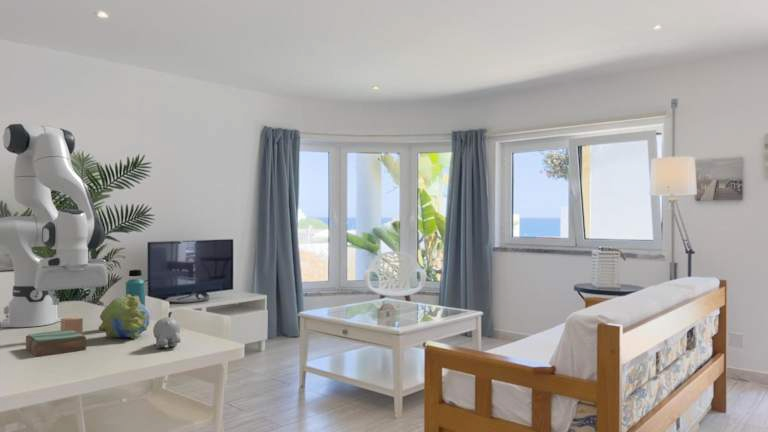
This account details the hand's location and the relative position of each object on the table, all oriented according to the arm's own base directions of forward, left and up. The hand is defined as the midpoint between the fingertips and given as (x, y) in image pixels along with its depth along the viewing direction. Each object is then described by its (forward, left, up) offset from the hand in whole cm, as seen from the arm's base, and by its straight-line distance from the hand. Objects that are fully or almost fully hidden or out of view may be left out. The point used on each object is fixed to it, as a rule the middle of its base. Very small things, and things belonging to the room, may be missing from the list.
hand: (72, 303), depth 173 cm
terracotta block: (-1, 0, -11) cm, 11 cm away
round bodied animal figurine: (+34, +16, -11) cm, 39 cm away
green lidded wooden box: (+15, -8, -11) cm, 20 cm away
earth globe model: (+13, +12, -11) cm, 21 cm away
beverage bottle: (-5, +21, -11) cm, 24 cm away
